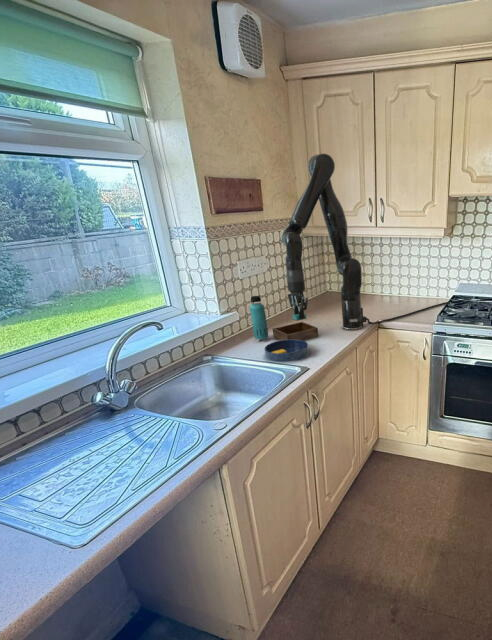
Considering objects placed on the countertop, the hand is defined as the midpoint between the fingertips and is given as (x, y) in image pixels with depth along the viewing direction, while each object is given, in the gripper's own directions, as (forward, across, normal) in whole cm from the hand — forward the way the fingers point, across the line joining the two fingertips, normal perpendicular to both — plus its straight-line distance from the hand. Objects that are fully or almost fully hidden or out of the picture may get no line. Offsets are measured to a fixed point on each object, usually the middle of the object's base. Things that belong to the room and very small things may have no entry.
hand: (299, 317), depth 185 cm
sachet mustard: (+8, -17, +20) cm, 28 cm away
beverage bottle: (+9, +8, +16) cm, 20 cm away
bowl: (+9, -17, +17) cm, 25 cm away
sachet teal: (0, 0, 0) cm, 0 cm away
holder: (+9, 0, +3) cm, 9 cm away
